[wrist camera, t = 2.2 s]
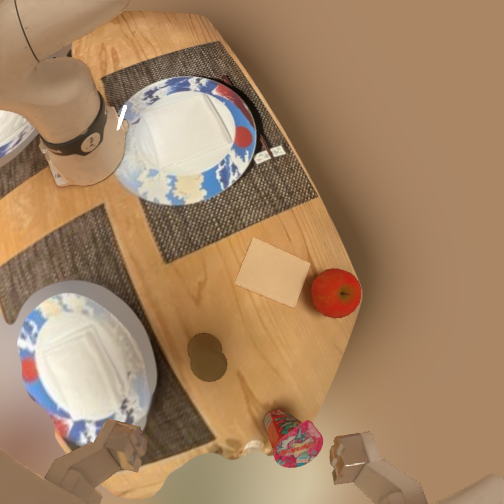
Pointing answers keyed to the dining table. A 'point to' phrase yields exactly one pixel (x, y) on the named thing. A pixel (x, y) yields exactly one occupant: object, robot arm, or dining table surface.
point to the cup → (292, 439)
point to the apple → (336, 293)
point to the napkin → (272, 273)
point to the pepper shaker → (207, 357)
